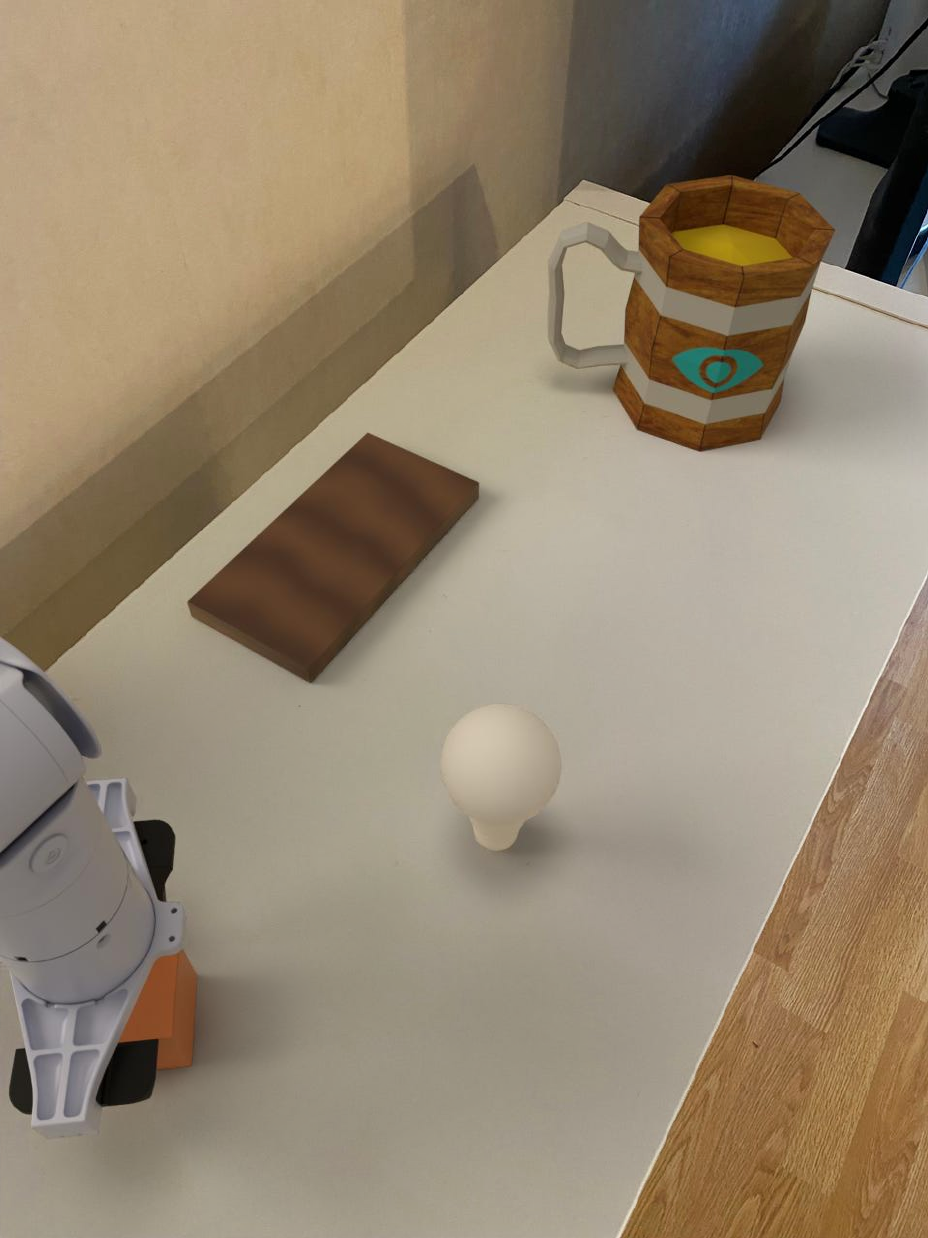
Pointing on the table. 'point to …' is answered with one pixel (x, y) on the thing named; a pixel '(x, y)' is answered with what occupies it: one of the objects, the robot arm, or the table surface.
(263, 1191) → the table surface
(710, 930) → the table surface
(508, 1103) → the table surface
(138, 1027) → the block
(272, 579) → the board
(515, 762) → the lightbulb
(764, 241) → the mug
